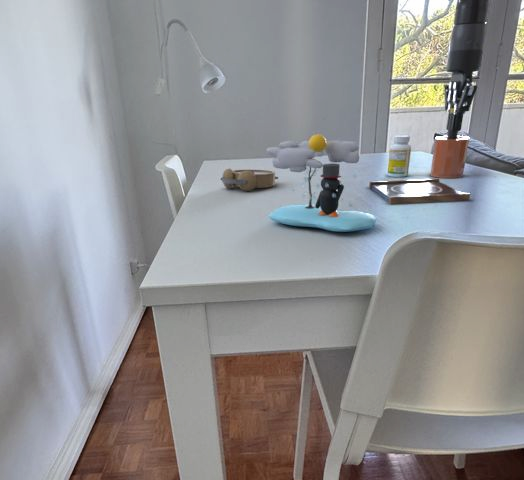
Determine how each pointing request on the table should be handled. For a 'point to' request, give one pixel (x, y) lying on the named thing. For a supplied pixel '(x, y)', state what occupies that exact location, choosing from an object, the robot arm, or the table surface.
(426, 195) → the brown square panel
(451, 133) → the marker
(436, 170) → the pen cup
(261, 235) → the table surface
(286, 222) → the penguin figurine
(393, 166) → the supplement bottle
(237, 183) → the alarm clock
